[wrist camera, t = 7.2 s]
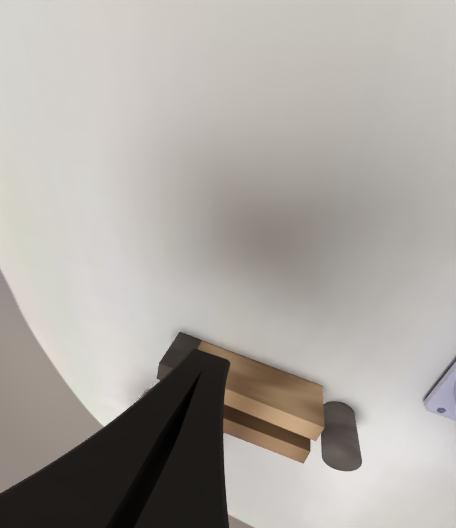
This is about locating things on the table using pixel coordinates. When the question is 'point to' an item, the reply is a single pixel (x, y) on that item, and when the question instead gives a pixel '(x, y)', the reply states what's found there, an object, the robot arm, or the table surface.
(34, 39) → the table surface
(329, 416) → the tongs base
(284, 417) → the wooden bar grey ends
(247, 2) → the table surface
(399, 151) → the table surface
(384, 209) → the table surface
